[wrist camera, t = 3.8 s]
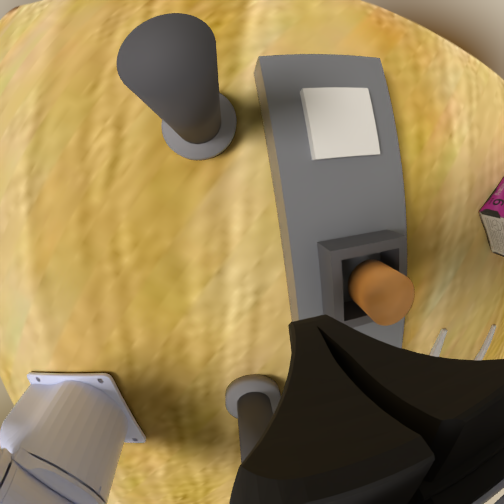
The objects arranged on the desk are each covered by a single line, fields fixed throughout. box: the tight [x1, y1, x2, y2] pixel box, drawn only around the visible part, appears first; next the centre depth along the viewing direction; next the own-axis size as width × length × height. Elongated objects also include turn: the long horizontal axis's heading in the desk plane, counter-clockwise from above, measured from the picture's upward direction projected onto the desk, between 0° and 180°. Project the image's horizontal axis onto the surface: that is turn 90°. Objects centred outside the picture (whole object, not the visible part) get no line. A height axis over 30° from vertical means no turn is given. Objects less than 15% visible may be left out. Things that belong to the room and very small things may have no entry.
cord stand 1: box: [117, 13, 237, 160], centre depth 10 cm, size 4×4×10 cm
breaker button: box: [348, 259, 414, 326], centre depth 12 cm, size 2×2×2 cm
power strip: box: [254, 54, 407, 348], centre depth 15 cm, size 7×24×4 cm, turn 9°
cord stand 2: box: [225, 375, 281, 462], centre depth 15 cm, size 4×4×10 cm
